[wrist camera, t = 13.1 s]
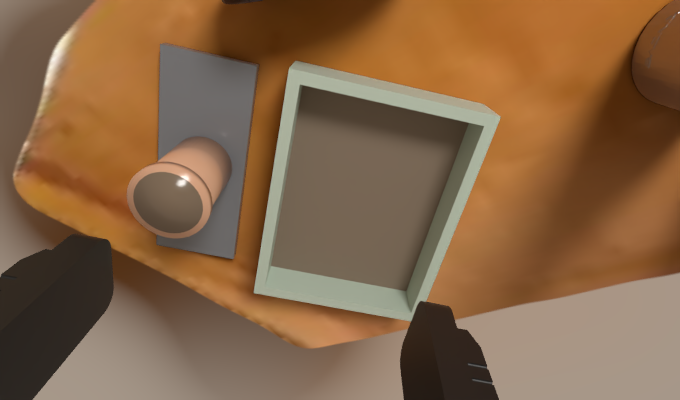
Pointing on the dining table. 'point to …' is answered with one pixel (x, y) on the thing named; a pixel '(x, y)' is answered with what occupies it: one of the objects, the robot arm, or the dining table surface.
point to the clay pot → (180, 188)
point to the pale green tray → (366, 190)
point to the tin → (238, 1)
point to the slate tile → (208, 131)
